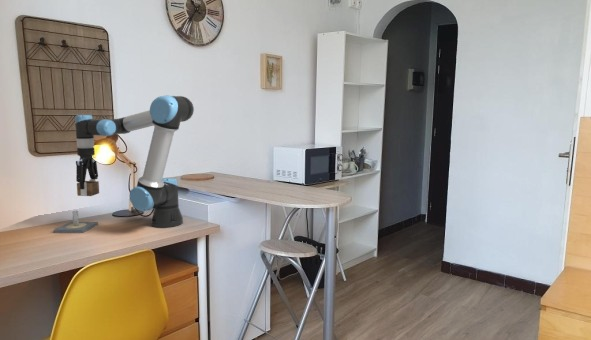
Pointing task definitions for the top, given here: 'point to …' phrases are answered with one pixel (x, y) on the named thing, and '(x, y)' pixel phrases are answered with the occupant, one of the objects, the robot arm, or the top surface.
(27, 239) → the top surface
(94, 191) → the collar
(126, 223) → the top surface
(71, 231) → the post block
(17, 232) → the top surface
